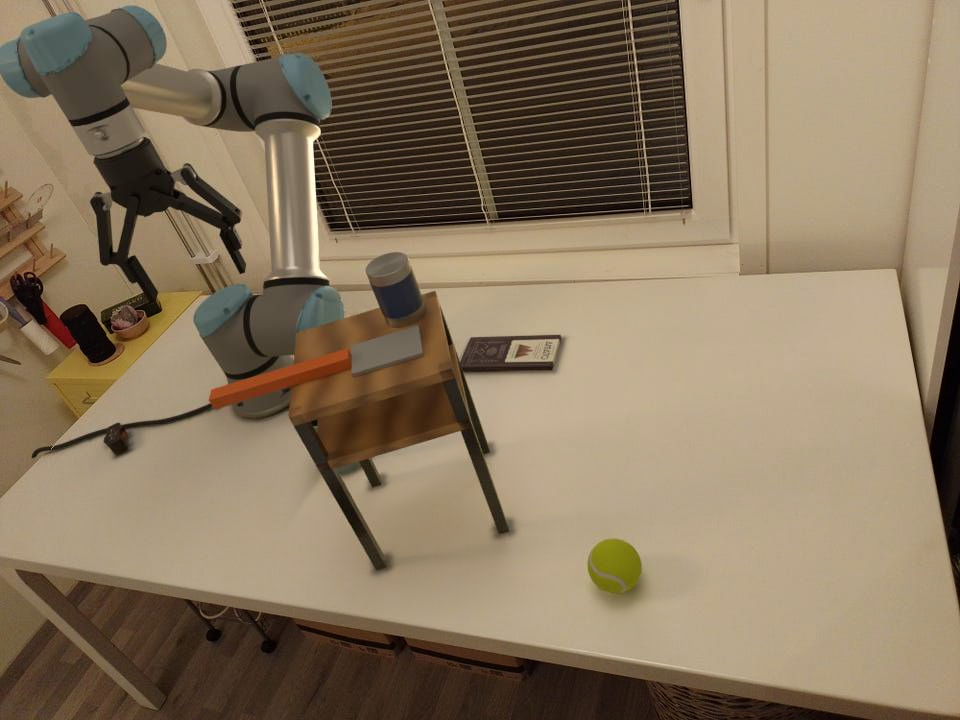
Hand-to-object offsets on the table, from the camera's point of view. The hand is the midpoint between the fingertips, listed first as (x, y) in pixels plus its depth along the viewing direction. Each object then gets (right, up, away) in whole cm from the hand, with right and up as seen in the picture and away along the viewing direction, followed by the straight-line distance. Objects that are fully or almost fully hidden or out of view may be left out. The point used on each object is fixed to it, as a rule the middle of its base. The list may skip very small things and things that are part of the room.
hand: (199, 283), depth 103 cm
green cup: (+19, -28, +18) cm, 38 cm away
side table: (+35, -33, +5) cm, 48 cm away
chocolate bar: (+47, -10, +29) cm, 56 cm away
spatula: (+21, -13, -15) cm, 29 cm away
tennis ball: (+59, -40, -13) cm, 72 cm away
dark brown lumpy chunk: (-31, -28, +38) cm, 56 cm away
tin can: (+31, -5, -10) cm, 33 cm away
